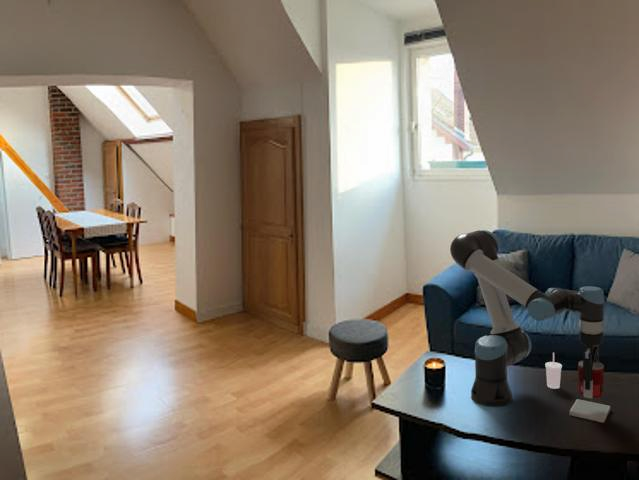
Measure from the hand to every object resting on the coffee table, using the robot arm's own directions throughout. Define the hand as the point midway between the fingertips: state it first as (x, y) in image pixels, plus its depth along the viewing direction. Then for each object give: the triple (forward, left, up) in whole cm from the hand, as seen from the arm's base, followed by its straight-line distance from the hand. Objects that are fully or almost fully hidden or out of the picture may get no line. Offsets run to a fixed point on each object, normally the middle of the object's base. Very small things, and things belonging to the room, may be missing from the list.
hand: (590, 392), depth 193 cm
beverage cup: (-17, +16, -8) cm, 24 cm away
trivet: (0, 0, -7) cm, 7 cm away
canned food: (0, 0, 0) cm, 0 cm away
